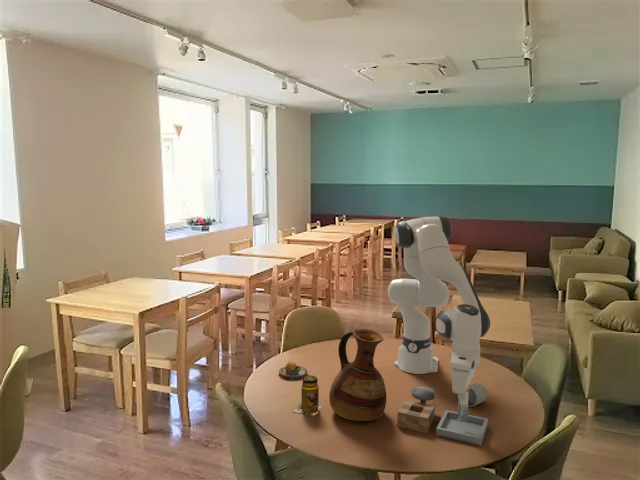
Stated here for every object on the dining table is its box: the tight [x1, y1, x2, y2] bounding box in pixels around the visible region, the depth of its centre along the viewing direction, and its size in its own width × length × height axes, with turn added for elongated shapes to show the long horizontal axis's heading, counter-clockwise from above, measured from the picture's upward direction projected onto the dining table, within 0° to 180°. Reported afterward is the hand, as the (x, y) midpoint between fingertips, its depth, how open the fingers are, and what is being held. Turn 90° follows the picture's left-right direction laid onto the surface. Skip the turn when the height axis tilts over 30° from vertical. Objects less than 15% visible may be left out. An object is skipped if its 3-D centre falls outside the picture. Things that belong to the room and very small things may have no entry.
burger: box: [278, 360, 308, 381], centre depth 208 cm, size 12×12×8 cm
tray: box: [435, 409, 489, 447], centre depth 163 cm, size 14×14×2 cm
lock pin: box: [457, 386, 470, 422], centre depth 162 cm, size 4×4×12 cm
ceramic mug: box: [456, 382, 488, 408], centre depth 183 cm, size 10×8×7 cm
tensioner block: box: [396, 385, 436, 434], centre depth 171 cm, size 18×10×8 cm, turn 154°
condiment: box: [293, 375, 323, 417], centre depth 176 cm, size 7×8×12 cm
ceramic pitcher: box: [328, 328, 388, 422], centre depth 172 cm, size 20×20×30 cm
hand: (463, 396), depth 162 cm, fingers closed on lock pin, 3 cm apart
